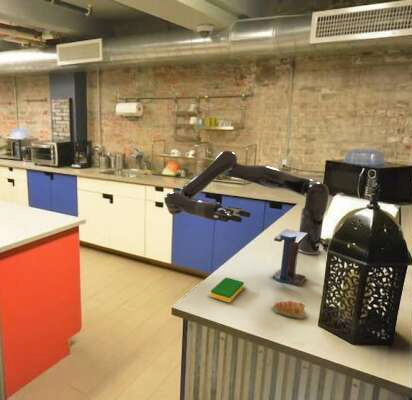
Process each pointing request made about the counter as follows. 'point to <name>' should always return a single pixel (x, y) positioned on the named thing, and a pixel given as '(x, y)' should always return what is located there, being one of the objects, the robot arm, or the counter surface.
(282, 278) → the peg
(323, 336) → the counter surface
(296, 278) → the stand
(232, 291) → the dish sponge
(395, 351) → the counter surface
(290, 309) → the pastry
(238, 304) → the counter surface
